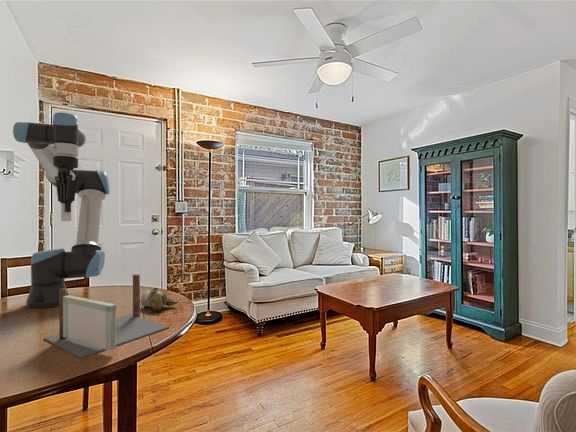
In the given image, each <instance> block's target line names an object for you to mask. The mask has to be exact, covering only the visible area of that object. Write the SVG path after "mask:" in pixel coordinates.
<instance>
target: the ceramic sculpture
mask: <svg viewBox="0 0 576 432" xmlns="http://www.w3.org/2000/svg"><path fill="white" fill-rule="evenodd" d="M178 303H179V301H175V300H174V299H173V298H171V297H167V294H166V292H164V291H161V290H159V289H158V288H157V287H156V288H152V289H151V290H150V289H147V288H146V289H145V288H144V289H143V291H142V294H141V297H140V305H141V306H142V307H144V308H151V309H152V310H153V311H155V312H157V311H160V310H162V308H164V307H166V306H167V307H169V306H170V307H171V306H174V305H177V304H178Z"/></svg>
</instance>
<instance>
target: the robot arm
mask: <svg viewBox="0 0 576 432" xmlns="http://www.w3.org/2000/svg"><path fill="white" fill-rule="evenodd" d="M52 118H53V119H52V124H49V123H35V122H29V121H27V122H26V121H25V122H23V121H21V122H20V121H19V122H15V123H14V124H13V128H12V135H13V137H14V140H15V141H16V142H19V143H23V144H27V145H28V147H29V149H30V150H31V151H32V153H33V155H34V156H35V157H36V159H37V161H38V163H39V164H40V166H41V167H42V168H43V170H44V171H45V178H46V179H47V181H48V182H49V183H50V184H51V185H53V186H54V187H55V188H56V195H57V202H59V203H60V219H61V220H60V221H61V222H72V203H73V202H75V200H76V194H77V195H78V197H79V199H80V208H79V215H78V226H77V233H76V242H75V244H73V245H72V246H71V249H70V251H66V250H65V248H62V247H61V248H55V249H48V250H41V251H37V252H34V253H32V255H31V261H30V283H31V284H30V285H31V286H30V291H29V292H28V296H27V298H26V300H25V308H28V309H34V310H35V309H36V310H39V309H48V308H53V307H59V289H61V288H67V287H66V285H65V283H66V282H65V280H66V279H77V278H78V279H79V278H83V279H84V278H93V277H98V276H100V275H101V273H102V271H103V269H104V265H105V257H106V254H105V251H104V250H102V246H101V245H99V236H100V226H101V225H100V224H101V215H102V213H101V212H102V201H103V200H105V199H106V197H107V196H108V195H110V194H111V189H110V180H109V176H108V174H107V172H106V171H104V170H98V169H96V170H89V169H88V170H86V169H78V168H79V158H78V157H79V148H81V147H82V146H84V145H85V144H86V142H87V138H86V137H87V136H86V134H85V132H84V131H83V130H82V129H81V128H80V127H79V125H80V123H79V121H78V120H79V117H77V116H76V115H75V114H73V113H68V112H61V111H59V112H55V113H54V114H53V117H52ZM68 295H70V294H69V292H68V290H67V296H68Z"/></svg>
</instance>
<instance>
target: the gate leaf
mask: <svg viewBox="0 0 576 432" xmlns="http://www.w3.org/2000/svg"><path fill="white" fill-rule="evenodd" d="M116 306H117V305H116V303H112V302H110V303H109V302H105V301H100V300H97V299H96V300H95V299H92V298H91V299H90V298H84V297H79V296H77V295H72V294H69V295H68V296H63V337H65V338H71V339H74V340H77V341H81V342H84V343H87V344H91V345H94V346H98V347H101V348H104V349H106V350H105V351H113V350H116V348H117V346H116V318H117V311H116V310H117V307H116Z"/></svg>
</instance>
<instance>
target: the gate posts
mask: <svg viewBox="0 0 576 432" xmlns="http://www.w3.org/2000/svg"><path fill="white" fill-rule="evenodd" d="M140 276H141V274H139V273H136V274H132V315H133V316H137V317H141V297H140V295H141V279H140V278H141V277H140ZM67 291H68V288H67V287H66V288H61V289H59V306H58V308H59V309H58V311H59V312H58V313H59V314H58V316H59V317H58V319H59V320H58V322H59V323H58V324H59V333H58V334H59V339H60V340H64V339H67V338H65V337H63V296H67Z"/></svg>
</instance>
